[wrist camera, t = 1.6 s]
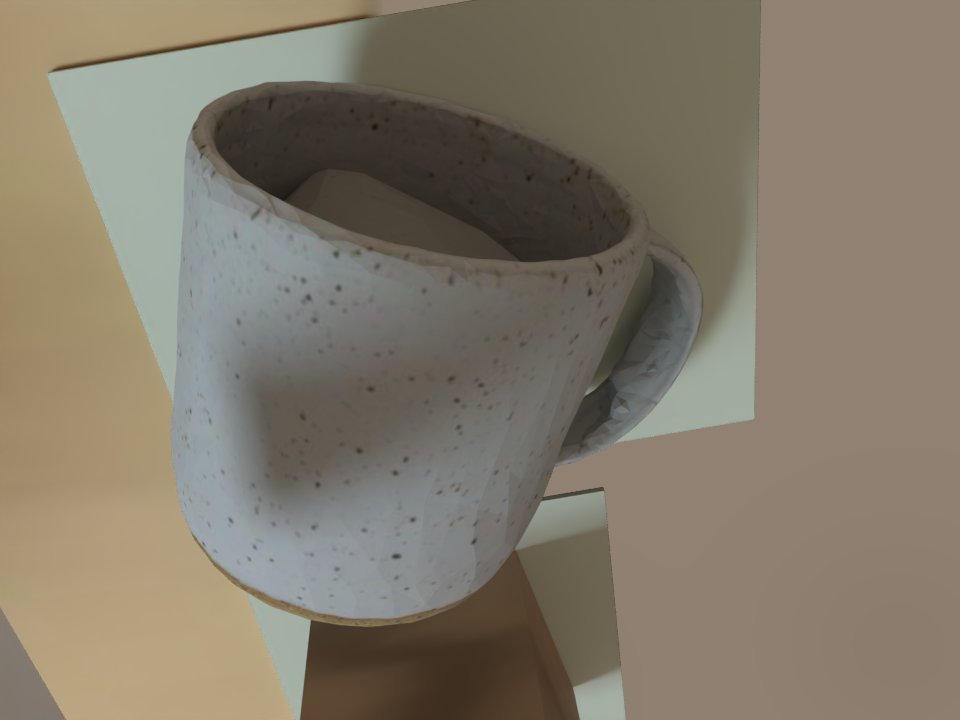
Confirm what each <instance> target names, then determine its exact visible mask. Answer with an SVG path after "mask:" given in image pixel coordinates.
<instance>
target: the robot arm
mask: <svg viewBox="0 0 960 720" xmlns="http://www.w3.org/2000/svg"><path fill="white" fill-rule="evenodd" d="M0 720H66V719H65V717H64V716H63V714H62V712H61V711H60V709H59V707H58V705H57V704H56V702H55V700H54V699H53V697H52V695H51V693H50V692H49V690H48V688H47V687H46V685H45V683H44V681H43V680H42V678H41V676H40V675H39V673H38V671H37V669H36V668H35V666H34V664H33V663H32V661H31V659H30V657H29V656H28V654H27V652H26V651H25V649H24V647H23V645H22V644H21V642H20V640H19V639H18V637H17V635H16V633H15V632H14V630H13V628H12V627H11V625H10V623H9V622H8V620H7V618H6V616H5V615H4V613H3V611H2V610H1V608H0Z"/></svg>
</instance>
